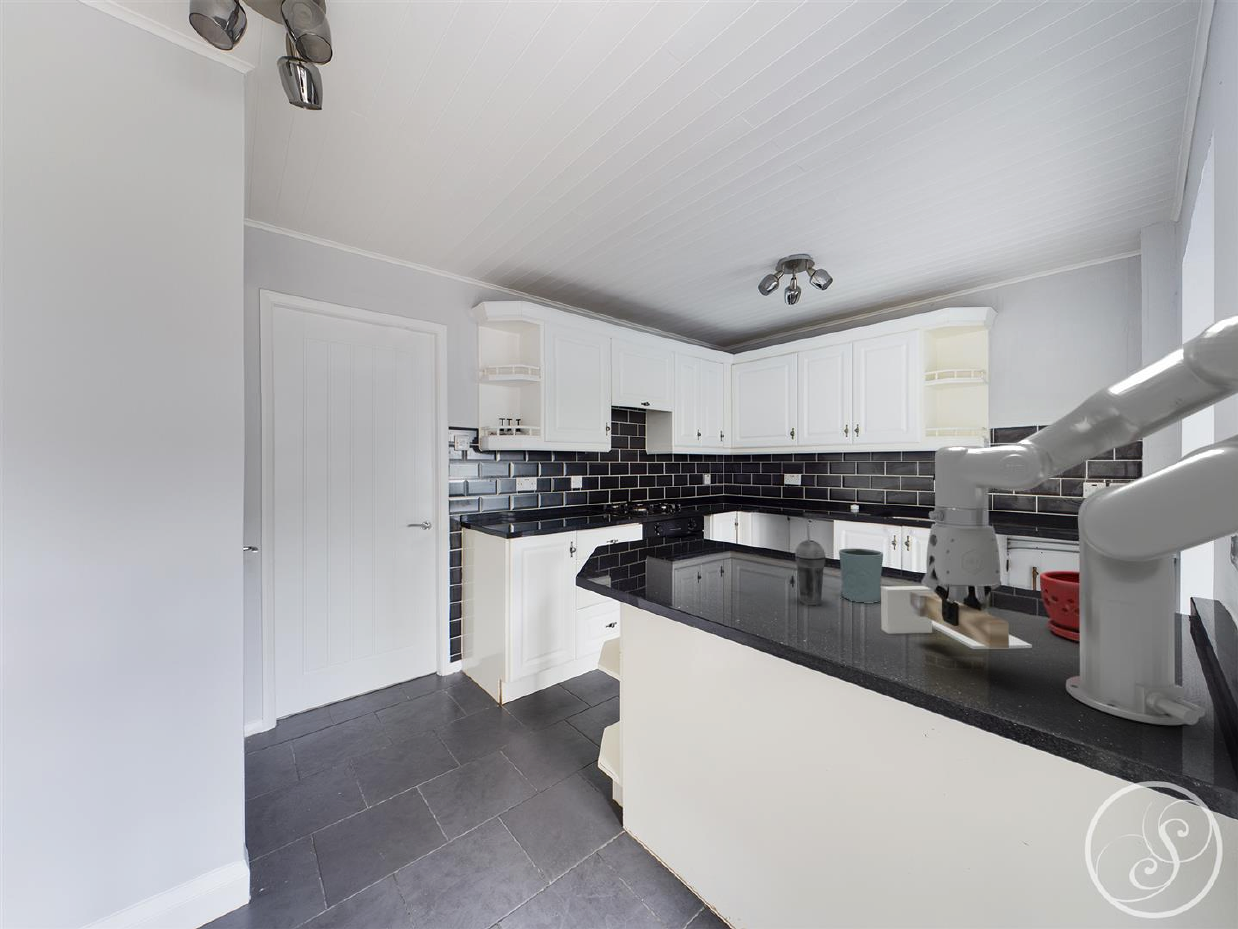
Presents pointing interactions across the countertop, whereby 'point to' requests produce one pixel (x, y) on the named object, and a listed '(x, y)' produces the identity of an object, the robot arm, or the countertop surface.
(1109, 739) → the countertop surface
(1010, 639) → the rest mat
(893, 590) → the tile
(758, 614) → the countertop surface
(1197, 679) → the countertop surface
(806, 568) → the beverage cup
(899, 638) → the countertop surface
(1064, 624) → the plant pot
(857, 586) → the teal round container
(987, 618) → the wooden beam
